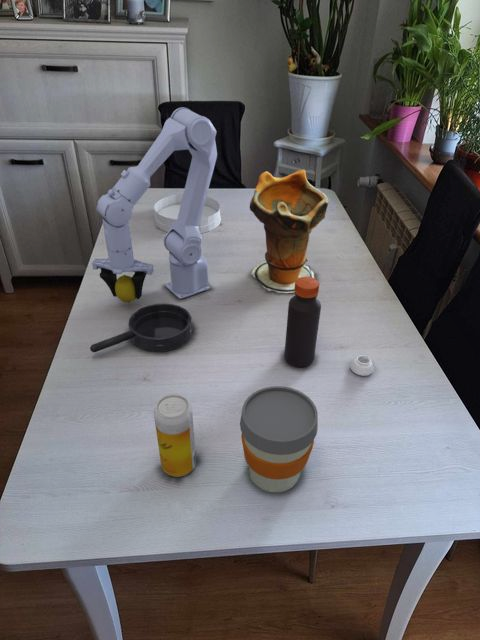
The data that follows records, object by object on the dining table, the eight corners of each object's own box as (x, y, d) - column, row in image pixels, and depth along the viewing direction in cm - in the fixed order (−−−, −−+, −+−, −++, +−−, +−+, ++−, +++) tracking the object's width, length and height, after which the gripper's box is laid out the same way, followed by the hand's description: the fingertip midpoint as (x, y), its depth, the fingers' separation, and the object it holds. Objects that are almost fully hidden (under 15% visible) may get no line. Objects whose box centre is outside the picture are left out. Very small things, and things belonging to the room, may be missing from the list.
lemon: (134, 310, 121) (130, 282, 116) (113, 307, 122) (108, 279, 117) (143, 298, 125) (139, 271, 120) (123, 295, 126) (118, 268, 121)
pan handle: (132, 334, 112) (131, 328, 111) (135, 338, 111) (134, 332, 110) (89, 350, 107) (88, 344, 106) (92, 355, 106) (91, 348, 105)
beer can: (162, 452, 88) (154, 393, 79) (196, 451, 89) (192, 391, 80) (160, 480, 84) (151, 420, 74) (195, 478, 84) (191, 419, 75)
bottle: (297, 345, 114) (305, 270, 102) (319, 359, 111) (331, 283, 98) (277, 357, 111) (283, 281, 98) (299, 372, 107) (308, 295, 94)
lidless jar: (365, 360, 111) (346, 365, 109) (367, 350, 109) (348, 355, 108) (377, 373, 108) (357, 379, 106) (379, 363, 106) (360, 369, 104)
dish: (217, 236, 157) (217, 221, 154) (149, 233, 156) (147, 218, 153) (223, 208, 174) (222, 195, 171) (161, 206, 174) (159, 192, 170)
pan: (173, 309, 124) (172, 296, 121) (203, 337, 115) (203, 324, 113) (120, 328, 117) (118, 315, 114) (148, 360, 108) (146, 347, 106)
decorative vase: (268, 307, 126) (274, 203, 109) (235, 265, 142) (236, 169, 125) (337, 292, 133) (353, 192, 116) (298, 254, 149) (307, 161, 132)
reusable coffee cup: (306, 443, 91) (314, 385, 82) (313, 501, 82) (324, 443, 72) (239, 443, 91) (240, 384, 81) (239, 502, 81) (240, 443, 72)
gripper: (82, 251, 111) (93, 301, 120) (144, 257, 110) (150, 307, 119) (94, 237, 117) (104, 286, 125) (153, 243, 116) (159, 292, 124)
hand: (127, 295), depth 122 cm, fingers closed on lemon, 5 cm apart
